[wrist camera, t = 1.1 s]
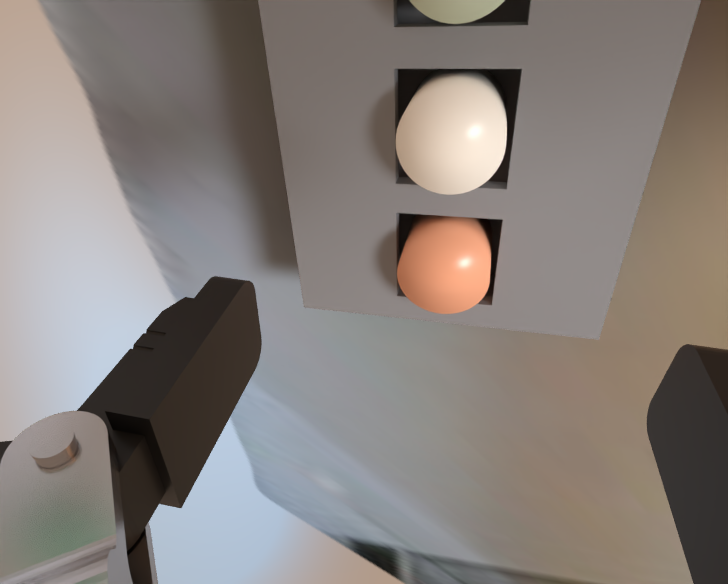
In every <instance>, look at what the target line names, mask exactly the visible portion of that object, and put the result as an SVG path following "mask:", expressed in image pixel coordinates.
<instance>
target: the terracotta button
mask: <svg viewBox="0 0 728 584" xmlns="http://www.w3.org/2000/svg"><path fill="white" fill-rule="evenodd" d="M491 252H492V228H491V225H490V222H489V220H488V219H485V218H469V217H454V216H438V215H423V214H417V215H416V216H415V218H414V219H413V222H412V224H411V227H410V230H409V233H408V236H407V239H406V242H405V246H404V249H403V252H402V255H401V258H400V261H399V264H398V268H397V278H398V282H399V285H400V288H401V289H402V291H403V293H404V294H405V295H406V297H407V298H408V299H409V300H410V301H411V302H413V303H414V304H415V305H417V306H419V307H420V308H422V309H425V310H427V311H430V312H434V313H440V314H453V313H459V312H463V311H465V310H468V309H470V308H472V307H473V306H475V305H476V304H478V303H479V302H480V301H481V300H482V298H483V297H484V296H485V294H486V292H487V290H488V287H489V283H490V269H491Z"/></svg>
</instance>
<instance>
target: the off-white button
mask: <svg viewBox="0 0 728 584" xmlns="http://www.w3.org/2000/svg"><path fill="white" fill-rule="evenodd" d="M506 140H507V101H506V97H505V94H504V91H503V89H502V87H501V85H500V83H499V82H498V81H497V79H496V78H495V77H494V76H493V75H492V74H491V73H489V72H488V71H487V70H485V69H436V70H435V71H433V72H432V73H430V74H429V75H428V76H427V77H426V78H425V79H424V80H423V81H422V82H421V84H420V85H419V87H418V88H417V90H416V92H415V94H414V96H413V97H412V99H411V101H410V103H409V105H408V106H407V108H406V110H405V112H404V114H403V115H402V118H401V120H400V122H399V125H398V128H397V133H396V151H397V156H398V159H399V161H400V164H401V166H402V168H403V169H404V171H405V172H406V174H407V175H408V176H409V177H410V178H411V179H412V180H413V181H414V182H415V183H417V184H418V185H419V186H421V187H423V188H425V189H427V190H429V191H432V192H435V193H439V194H446V195H454V194H461V193H465V192H469V191H471V190H474V189H476V188H478V187H480V186H481V185H482V184H484V183H485V182H487V181H488V180H489V179H490V178H491V177H492V176H493V175H494V173H495V172H496V171H497V169H498V168H499V166H500V164H501V162H502V160H503V157H504V154H505V150H506Z"/></svg>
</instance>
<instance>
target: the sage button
mask: <svg viewBox="0 0 728 584" xmlns="http://www.w3.org/2000/svg"><path fill="white" fill-rule="evenodd" d="M409 1H410V2H411V3H412V4H413V5H414V6H415V7H416V8H417V9H418V10H419V11H420V12H421V13H423V14H424V15H426V16H427V17H429V18H431V19H433V20H436V21H439V22H443V23H448V24H461V23H467V22H472V21H475V20H477V19H480V18H482V17H484V16H486V15H488V14H489V13H491V12H492V11H493V10H495V9H496V8H497V7H499V6H500V5H501V4H502V3H503V2H504V1H505V0H409Z"/></svg>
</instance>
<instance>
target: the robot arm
mask: <svg viewBox="0 0 728 584" xmlns="http://www.w3.org/2000/svg"><path fill="white" fill-rule="evenodd" d="M260 353H261V332H260V324H259V317H258V309H257V302H256V294H255V288H254V285H253V283H252V282H250V281H245V280H238V279H231V278H224V277H217V276H214V277H212V278H210V279H209V281H208V282H207V283H206V284H205V285H204V287H203V288H202V289H201V290H200V292H199V293H198V294H197V295H196V297H195V298H187V297H185V298H183V299H181V300H180V301H178V302H177V303H175V304H173V305H172V306H170V307H169V308H167V309H165V310H164V311H162V312H161V313H160V315H159V316H158V317H157V318H156V319H155V320H154V322H153V323H152V324H151V325H150V326H149V327H148V329H147V332H146V334H142V336H141V337H140V338H139V339H138V340H137V341H136V343H135V344H134V347H133V349H130V350H129V351H128V352H127V353H126V354H125V355H124V357H123V358H122V359H121V360H120V361H119V363H118V364H117V365H116V366H115V367H114V368H113V370H112V371H111V372H110V373H109V374H108V375H107V377H106V378H105V379H104V380H103V381H102V382H101V384H100V385H99V386H98V387H97V388H96V389H95V391H94V392H93V393H92V394H91V395H90V396H89V398H88V399H87V400H86V401H85V402H84V403H83V405H82V406H81V407H80V408H79V409H78V410H77V411H69V412H63V413H58V414H55V415H52V416H49V417H47V418H44V419H42V420H40V421H38V422H36V423H35V424H33V425H31V426H30V427H28V428H27V429H25V430H24V431H23V432H22V433H20V434H19V435H18V436H17V437H16V438H15V439H14V440H13V441H5V442H0V584H158V580H157V573H156V566H155V559H154V553H153V545H152V537H151V531H150V526H149V523H148V522H149V520H150V518H151V517H152V515H153V513H154V511H155V510H156V508H157V506H158V504H163V505H168V506H173V507H177V508H182V506H183V504H184V502H185V500H186V498H187V496H188V495H189V493H190V491H191V489H192V487H193V485H194V483H195V481H196V479H197V478H198V476H199V474H200V472H201V470H202V468H203V466H204V464H205V463H206V460H207V459H208V457H209V455H210V453H211V451H212V449H213V448H214V446H215V444H216V442H217V440H218V438H219V436H220V434H221V433H222V431H223V429H224V427H225V425H226V423H227V421H228V419H229V418H230V416H231V414H232V412H233V410H234V408H235V406H236V404H237V403H238V401H239V399H240V397H241V395H242V393H243V391H244V389H245V388H246V386H247V384H248V382H249V380H250V378H251V376H252V374H253V373H254V371H255V369H256V367H257V364H258V361H259V357H260ZM647 432H648V436H649V440H650V443H651V446H652V450H653V453H654V456H655V459H656V463H657V466H658V469H659V472H660V476H661V479H662V482H663V485H664V489H665V492H666V495H667V498H668V502H669V505H670V508H671V511H672V515H673V518H674V521H675V524H676V528H677V531H678V534H679V537H680V541H681V544H682V547H683V550H684V554H685V557H686V560H687V563H688V567H689V570H690V573H691V576H692V580H693V583H694V584H728V350H725V349H718V348H711V347H704V346H697V345H690V344H687V345H684V346H682V347H681V348H680V349H679V350H678V352H677V354H676V356H675V357H674V359H673V361H672V363H671V365H670V367H669V369H668V370H667V372H666V374H665V376H664V378H663V380H662V382H661V384H660V385H659V387H658V389H657V391H656V393H655V395H654V397H653V398H652V400H651V403H650V405H649V409H648V414H647Z"/></svg>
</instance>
